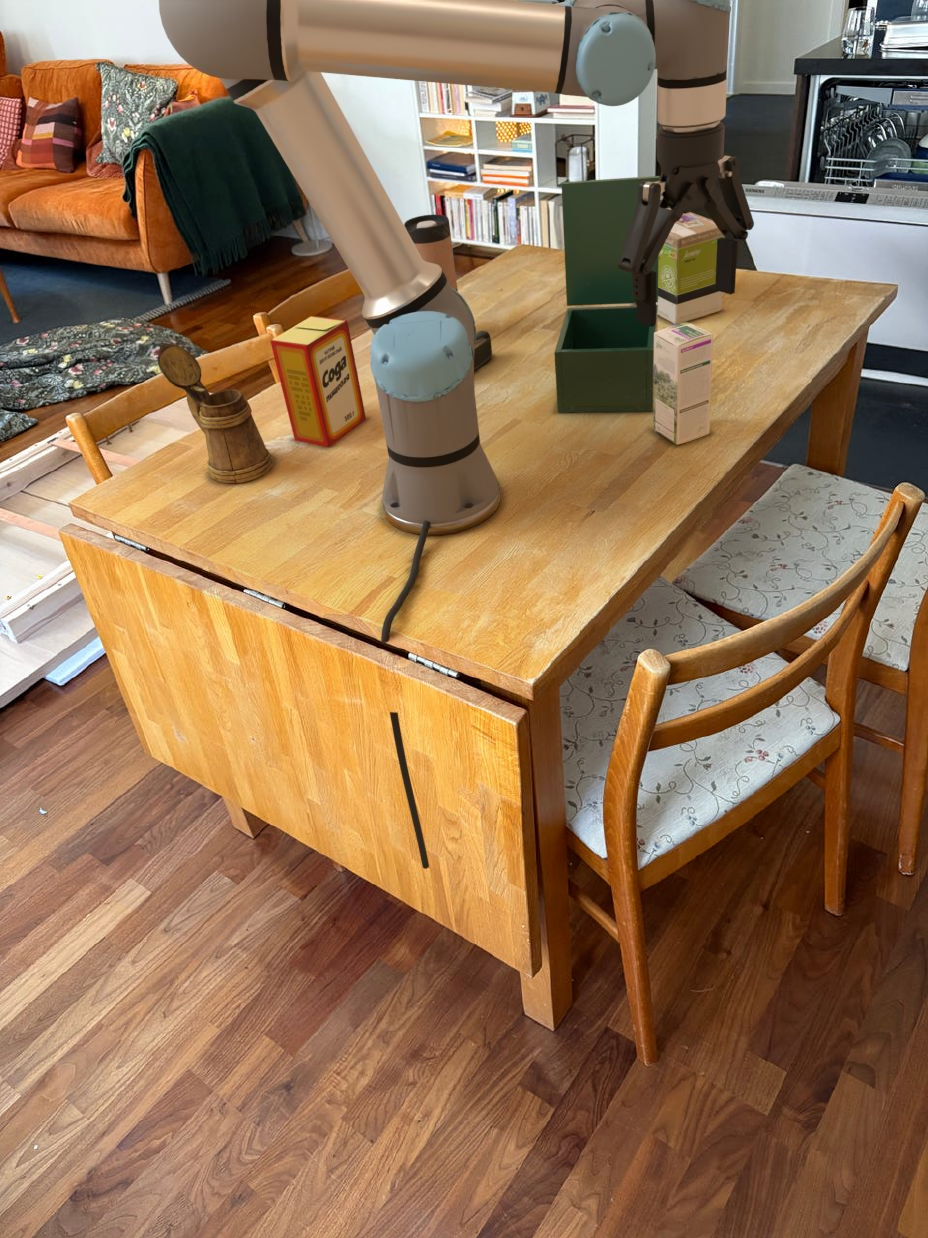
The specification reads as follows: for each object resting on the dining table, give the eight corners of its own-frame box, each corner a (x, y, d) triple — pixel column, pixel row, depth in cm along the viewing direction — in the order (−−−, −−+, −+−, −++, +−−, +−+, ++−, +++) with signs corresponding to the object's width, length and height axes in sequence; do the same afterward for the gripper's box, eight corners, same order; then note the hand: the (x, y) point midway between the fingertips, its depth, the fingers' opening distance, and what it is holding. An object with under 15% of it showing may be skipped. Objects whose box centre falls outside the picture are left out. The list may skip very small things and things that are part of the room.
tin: (652, 411, 138) (653, 349, 133) (557, 412, 141) (554, 352, 136) (657, 362, 151) (657, 304, 145) (569, 365, 154) (567, 307, 148)
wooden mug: (217, 444, 146) (183, 330, 135) (285, 459, 139) (255, 340, 128) (176, 472, 140) (136, 355, 129) (245, 489, 134) (209, 367, 123)
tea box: (626, 301, 173) (626, 216, 164) (673, 288, 176) (675, 203, 166) (675, 326, 162) (677, 236, 153) (724, 311, 164) (729, 222, 155)
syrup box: (711, 434, 131) (716, 332, 122) (675, 446, 130) (678, 344, 121) (686, 418, 135) (689, 319, 126) (651, 431, 134) (652, 330, 125)
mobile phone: (478, 327, 159) (425, 360, 149) (493, 329, 157) (441, 363, 148) (481, 355, 161) (429, 390, 152) (496, 358, 160) (444, 393, 151)
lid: (659, 177, 134) (661, 162, 140) (561, 183, 137) (567, 169, 143) (657, 302, 145) (659, 284, 151) (566, 305, 148) (572, 287, 154)
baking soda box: (328, 447, 141) (305, 343, 131) (294, 440, 144) (269, 337, 134) (366, 419, 147) (346, 317, 137) (333, 412, 150) (311, 313, 140)
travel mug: (464, 328, 171) (451, 212, 159) (460, 345, 165) (446, 226, 153) (422, 331, 172) (406, 216, 160) (417, 348, 167) (399, 230, 154)
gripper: (744, 97, 116) (734, 272, 129) (584, 145, 106) (591, 329, 119) (793, 102, 111) (778, 284, 124) (629, 153, 101) (632, 345, 114)
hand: (686, 307), depth 122 cm, fingers open, 13 cm apart
